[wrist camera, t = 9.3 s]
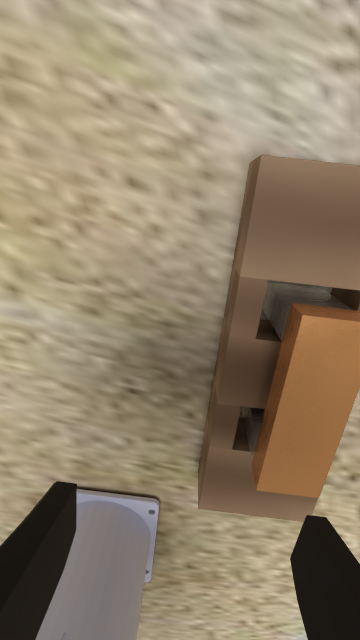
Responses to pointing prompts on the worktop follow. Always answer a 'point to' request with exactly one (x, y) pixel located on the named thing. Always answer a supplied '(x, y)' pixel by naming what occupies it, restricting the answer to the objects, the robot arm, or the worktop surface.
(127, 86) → the worktop surface
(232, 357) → the brown wooden peg board
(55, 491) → the robot arm
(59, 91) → the worktop surface
